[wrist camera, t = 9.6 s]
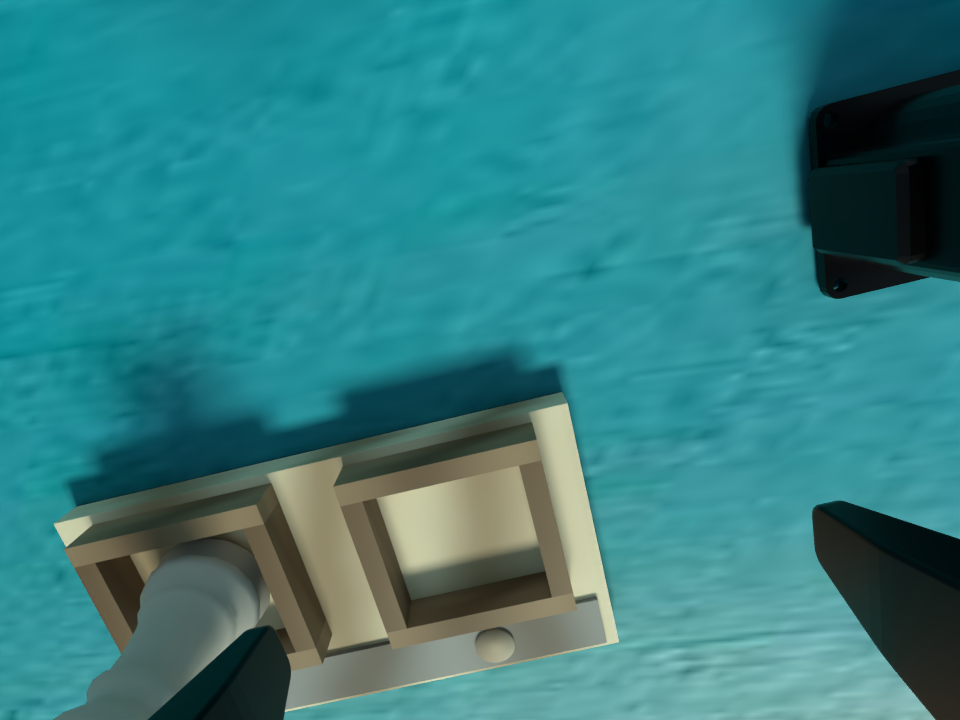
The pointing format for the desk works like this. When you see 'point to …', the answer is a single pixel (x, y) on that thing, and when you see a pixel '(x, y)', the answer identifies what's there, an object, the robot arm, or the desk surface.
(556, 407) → the board
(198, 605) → the rook chess piece
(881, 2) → the desk surface
